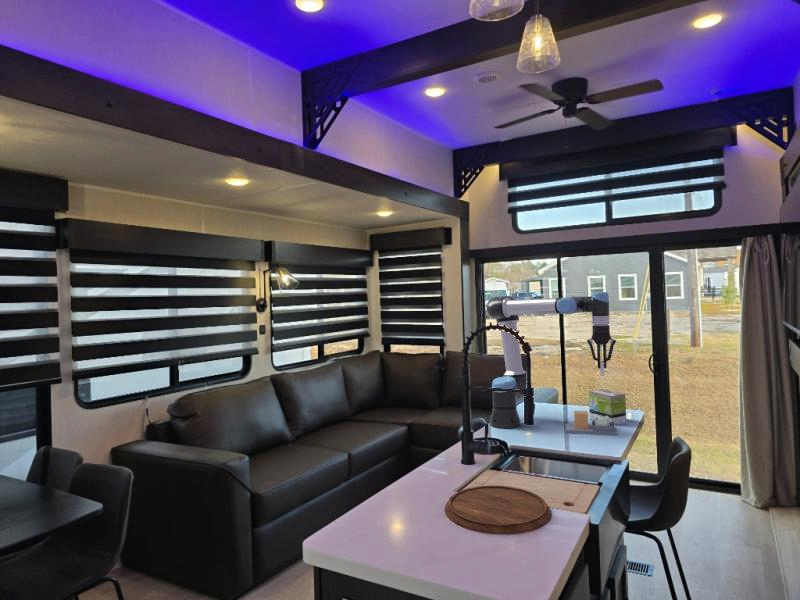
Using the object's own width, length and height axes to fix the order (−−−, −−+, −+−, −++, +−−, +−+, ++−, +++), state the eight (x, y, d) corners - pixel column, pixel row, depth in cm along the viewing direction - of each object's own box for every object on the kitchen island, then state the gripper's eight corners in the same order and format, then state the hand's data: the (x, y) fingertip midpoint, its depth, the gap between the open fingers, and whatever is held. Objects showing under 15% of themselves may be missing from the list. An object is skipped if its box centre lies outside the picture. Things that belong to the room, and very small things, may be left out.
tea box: (588, 419, 266) (587, 390, 266) (603, 417, 270) (602, 388, 270) (612, 425, 253) (611, 395, 252) (627, 423, 257) (626, 393, 257)
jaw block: (574, 428, 244) (574, 413, 244) (574, 425, 250) (574, 410, 250) (588, 428, 243) (587, 413, 243) (587, 425, 248) (587, 411, 248)
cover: (595, 426, 240) (595, 419, 240) (594, 421, 249) (594, 415, 249) (609, 426, 239) (609, 420, 239) (608, 422, 247) (608, 415, 247)
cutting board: (478, 485, 182) (478, 477, 182) (568, 506, 162) (567, 497, 162) (423, 517, 157) (423, 508, 157) (521, 546, 137) (521, 537, 137)
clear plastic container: (565, 432, 243) (565, 421, 243) (565, 426, 254) (565, 415, 254) (616, 435, 236) (616, 423, 236) (614, 428, 248) (614, 416, 248)
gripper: (586, 325, 241) (587, 376, 242) (616, 325, 237) (618, 376, 238) (585, 324, 248) (587, 373, 249) (615, 324, 245) (616, 374, 245)
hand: (602, 375), depth 243 cm, fingers closed
